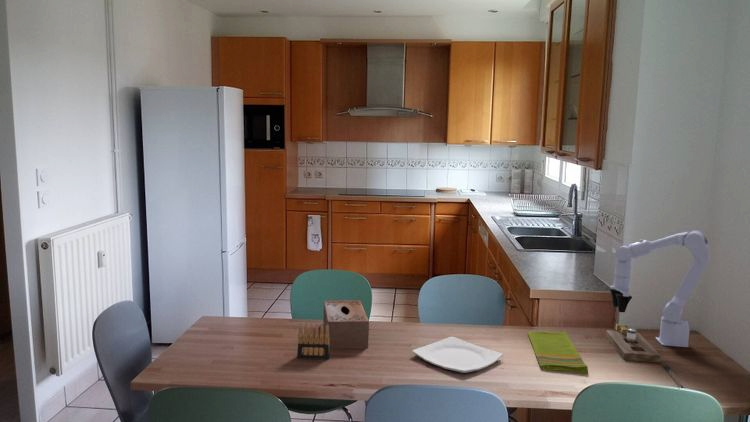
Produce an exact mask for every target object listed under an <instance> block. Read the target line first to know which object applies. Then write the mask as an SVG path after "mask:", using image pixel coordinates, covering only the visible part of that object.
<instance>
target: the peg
mask: <svg viewBox="0 0 750 422" xmlns="http://www.w3.org/2000/svg"><path fill="white" fill-rule="evenodd" d="M636 332H637V329H636V328H634V327H633V328H632V327H628V328H627V341H626V343H635V341H636ZM637 333H638V332H637Z"/></svg>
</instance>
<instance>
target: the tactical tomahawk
mask: <svg viewBox="0 0 750 422" xmlns="http://www.w3.org/2000/svg"><path fill="white" fill-rule="evenodd" d="M663 366H664V367H665V371H666V372H667V373H668V375H669V376H670V378H671V379H672V380H673V382H675V384H676V385H677V386H678V387H677V388H679V387H681V388H685V387H684V385H683V384H682V382H681V381H680V380H679V378H678V377H677V376H676V375H675V373H674V371H672V369H671V365H669V364H666V363H664V364H663Z"/></svg>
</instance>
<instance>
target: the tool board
mask: <svg viewBox="0 0 750 422" xmlns="http://www.w3.org/2000/svg"><path fill="white" fill-rule="evenodd" d="M605 337H606V339H607V338H608V339H609V340H608V339H607V340H608V342H609V343H610V342H611V343H612V344H611V343H610V344H611V345H612V346H613V348H614V347H615V348H614V349H615V350H616V351H617V353H618V354H619V356H620V357H621V358H622V359H623V360H624V361H625V360H626V361H636V362H637V361H638V362H647V363H661V354H660V353H659V352H658V351H657V350H656V349H655V348H654V346H652V345H651V344H650V343H649V342H648V341H647V340H646V338H644V336H642V335H641V334H640V332H636V341H635V343H626V341H627V334H622V333H621V332H620V331H619V330H608V329H606V330H605Z"/></svg>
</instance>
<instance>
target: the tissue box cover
mask: <svg viewBox="0 0 750 422" xmlns="http://www.w3.org/2000/svg"><path fill="white" fill-rule="evenodd" d="M322 322H323V323H322V324H323V327H324V332H325V329H326V325H327V324H328V326H329V349H368V348H369V338H370V337H369V331H370V321H369V317H368V315H367V313H366V310H365V307H364V306H363V303H362V300H361V299H360V300H359V299H354V300H353V299H352V300H350V299H348V300H347V299H346V300H344V299H343V300H339V299H337V300H333V299H331V300H330V299H329V300H323V321H322Z"/></svg>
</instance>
